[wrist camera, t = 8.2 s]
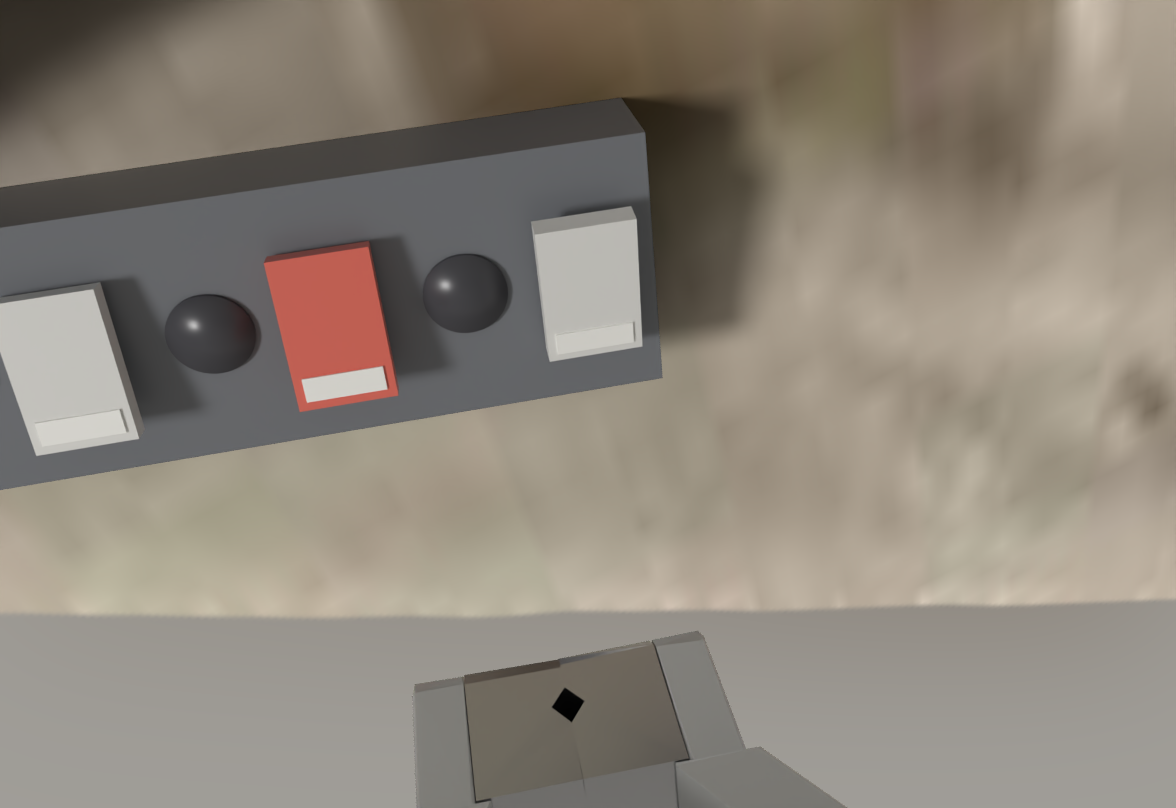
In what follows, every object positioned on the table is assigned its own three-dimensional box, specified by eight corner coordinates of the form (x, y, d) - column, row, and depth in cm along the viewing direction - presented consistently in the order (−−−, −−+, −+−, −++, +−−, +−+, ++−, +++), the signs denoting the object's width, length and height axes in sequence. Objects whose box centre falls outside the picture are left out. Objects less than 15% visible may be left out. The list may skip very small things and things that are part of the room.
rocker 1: (100, 282, 34) (92, 289, 33) (144, 429, 36) (138, 439, 35) (-7, 298, 34) (-17, 306, 33) (44, 445, 36) (35, 456, 35)
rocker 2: (631, 206, 35) (637, 220, 34) (637, 332, 38) (642, 347, 37) (531, 221, 34) (535, 236, 34) (546, 347, 38) (549, 363, 37)
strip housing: (621, 98, 38) (646, 133, 34) (639, 327, 43) (663, 380, 39) (-133, 207, 36) (-189, 257, 32) (-25, 437, 40) (-63, 503, 37)
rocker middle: (368, 241, 35) (367, 247, 34) (398, 386, 37) (398, 396, 36) (266, 256, 34) (263, 263, 34) (302, 403, 36) (299, 412, 35)
